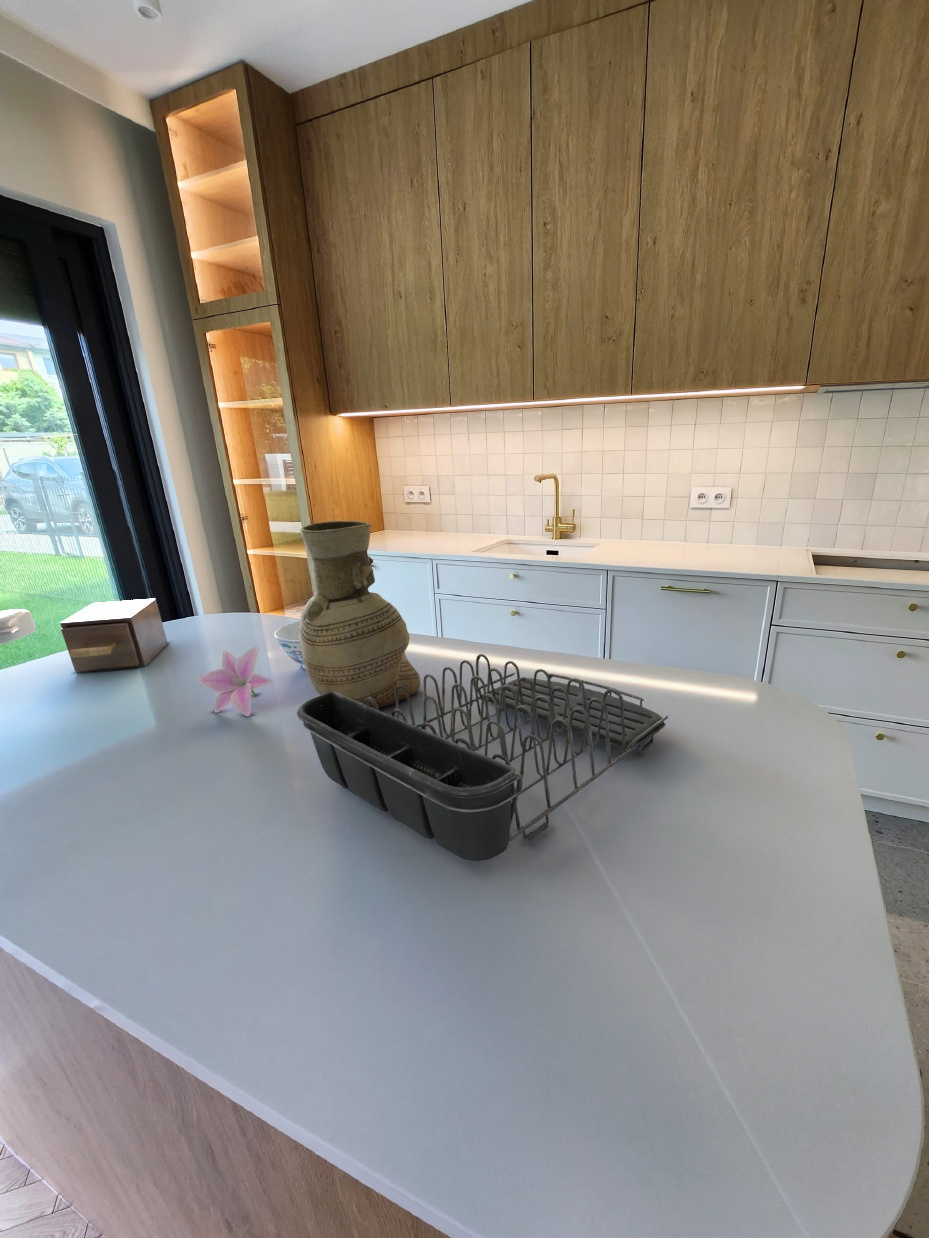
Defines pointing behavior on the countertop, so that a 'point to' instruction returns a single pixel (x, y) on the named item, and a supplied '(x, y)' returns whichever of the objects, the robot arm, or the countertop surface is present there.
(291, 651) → the chinaware
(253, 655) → the lily
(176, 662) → the countertop surface
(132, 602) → the cabinet
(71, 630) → the drawer
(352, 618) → the ceramic vessel
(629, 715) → the dish rack
